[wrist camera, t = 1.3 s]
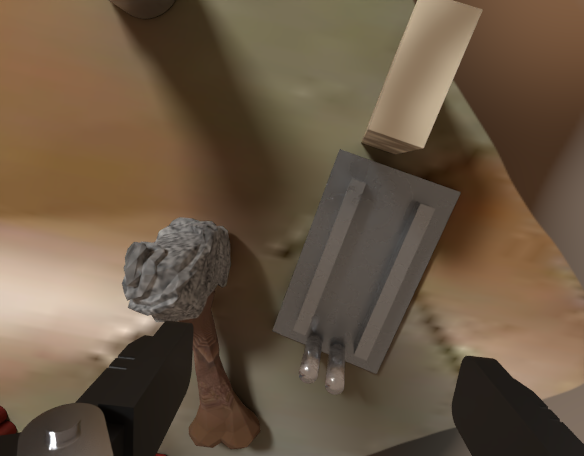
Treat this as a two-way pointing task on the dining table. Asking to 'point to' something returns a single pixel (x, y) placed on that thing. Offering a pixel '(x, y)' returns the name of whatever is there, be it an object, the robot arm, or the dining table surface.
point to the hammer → (192, 317)
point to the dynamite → (6, 424)
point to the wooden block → (420, 75)
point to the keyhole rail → (361, 265)
